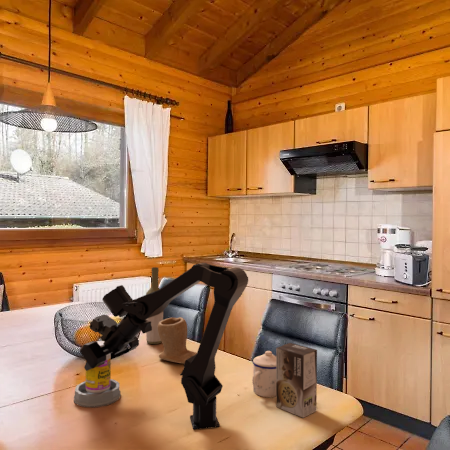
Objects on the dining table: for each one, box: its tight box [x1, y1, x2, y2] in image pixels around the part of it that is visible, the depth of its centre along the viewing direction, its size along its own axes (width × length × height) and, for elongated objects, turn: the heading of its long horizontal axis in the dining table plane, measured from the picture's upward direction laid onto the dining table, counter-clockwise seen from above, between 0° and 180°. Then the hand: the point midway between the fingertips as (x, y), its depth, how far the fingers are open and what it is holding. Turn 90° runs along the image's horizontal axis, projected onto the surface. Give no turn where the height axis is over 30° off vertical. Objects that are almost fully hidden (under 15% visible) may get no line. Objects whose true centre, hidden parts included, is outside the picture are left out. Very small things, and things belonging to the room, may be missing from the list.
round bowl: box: [73, 378, 122, 408], centre depth 117 cm, size 12×12×3 cm
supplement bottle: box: [85, 340, 112, 394], centre depth 117 cm, size 7×7×13 cm
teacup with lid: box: [251, 350, 276, 398], centre depth 121 cm, size 12×9×12 cm
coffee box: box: [275, 342, 318, 418], centre depth 111 cm, size 9×6×16 cm
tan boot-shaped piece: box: [158, 316, 197, 365], centre depth 147 cm, size 15×12×15 cm
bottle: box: [145, 266, 164, 345], centre depth 167 cm, size 7×7×30 cm
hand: (94, 365), depth 117 cm, fingers closed on supplement bottle, 7 cm apart
